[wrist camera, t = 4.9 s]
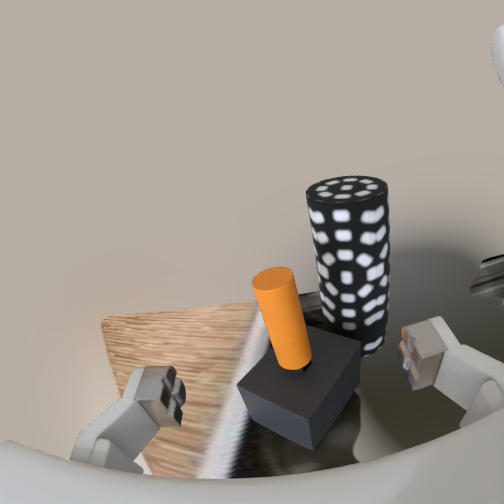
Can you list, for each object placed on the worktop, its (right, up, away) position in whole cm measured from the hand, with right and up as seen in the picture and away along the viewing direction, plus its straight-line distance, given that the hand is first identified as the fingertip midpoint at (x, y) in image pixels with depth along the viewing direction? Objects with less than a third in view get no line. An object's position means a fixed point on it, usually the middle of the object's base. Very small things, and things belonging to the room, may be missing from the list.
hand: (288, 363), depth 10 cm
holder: (+5, -13, +20) cm, 25 cm away
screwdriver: (+5, -13, +20) cm, 25 cm away
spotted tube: (+12, -7, +28) cm, 31 cm away
